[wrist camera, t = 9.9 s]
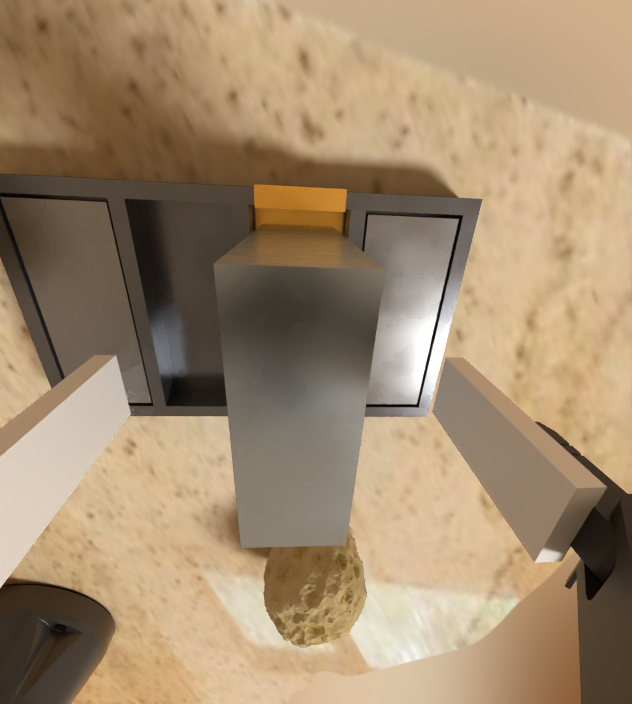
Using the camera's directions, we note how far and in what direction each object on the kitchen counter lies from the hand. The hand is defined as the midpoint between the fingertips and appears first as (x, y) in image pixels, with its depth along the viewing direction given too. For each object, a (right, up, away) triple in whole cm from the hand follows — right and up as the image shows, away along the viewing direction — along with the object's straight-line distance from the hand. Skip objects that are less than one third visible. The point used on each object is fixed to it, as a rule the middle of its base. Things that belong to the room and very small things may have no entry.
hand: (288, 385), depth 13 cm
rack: (-3, +4, +8) cm, 9 cm away
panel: (0, +4, +7) cm, 8 cm away
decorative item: (+1, -18, +19) cm, 27 cm away
